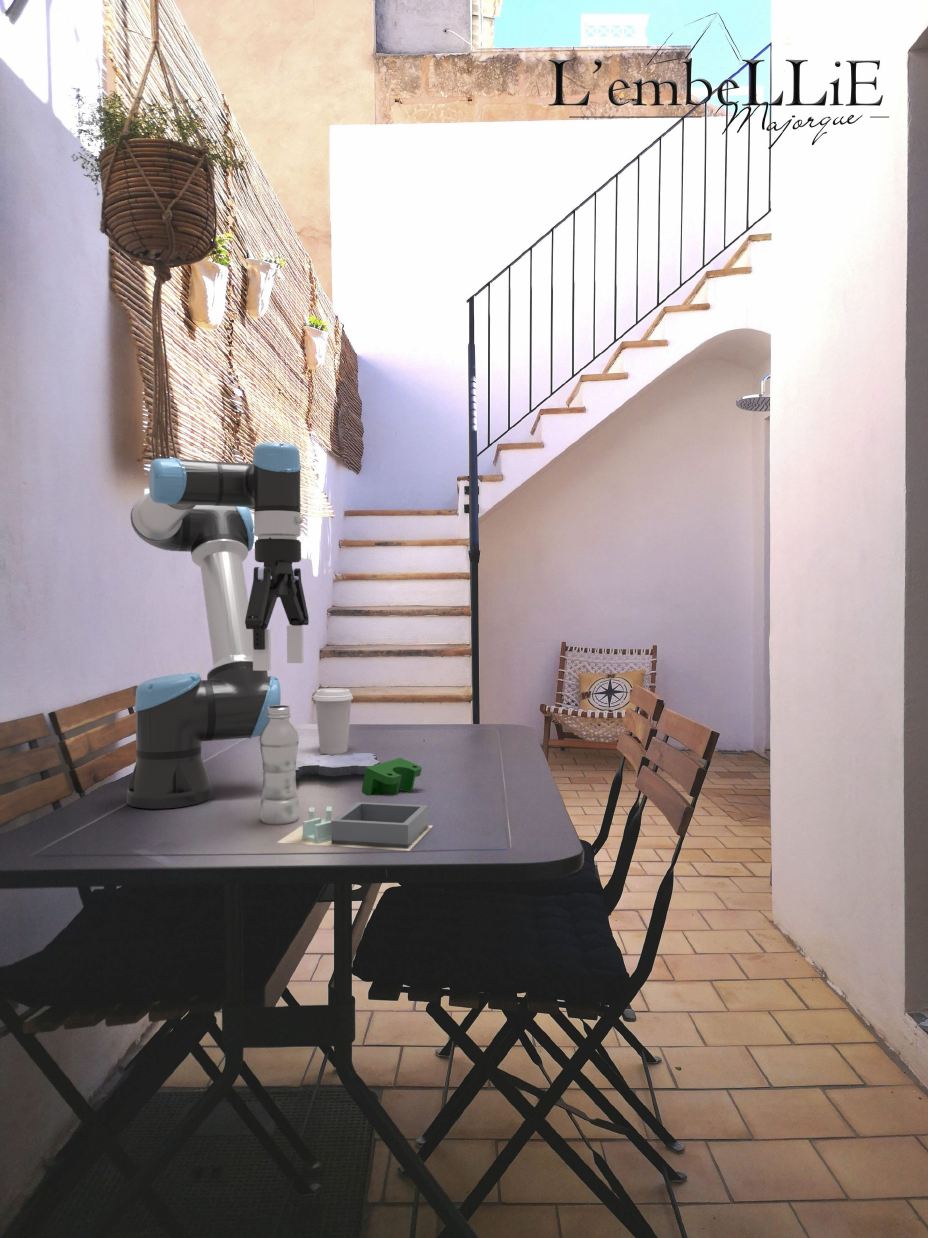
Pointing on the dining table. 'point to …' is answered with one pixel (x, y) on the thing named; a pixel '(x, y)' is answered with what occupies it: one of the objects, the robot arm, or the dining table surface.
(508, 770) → the dining table surface
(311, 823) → the clip
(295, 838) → the board
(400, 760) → the clamp
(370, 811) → the holder
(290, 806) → the plastic bottle
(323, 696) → the coffee cup
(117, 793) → the dining table surface
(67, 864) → the dining table surface
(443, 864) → the dining table surface
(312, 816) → the clip
